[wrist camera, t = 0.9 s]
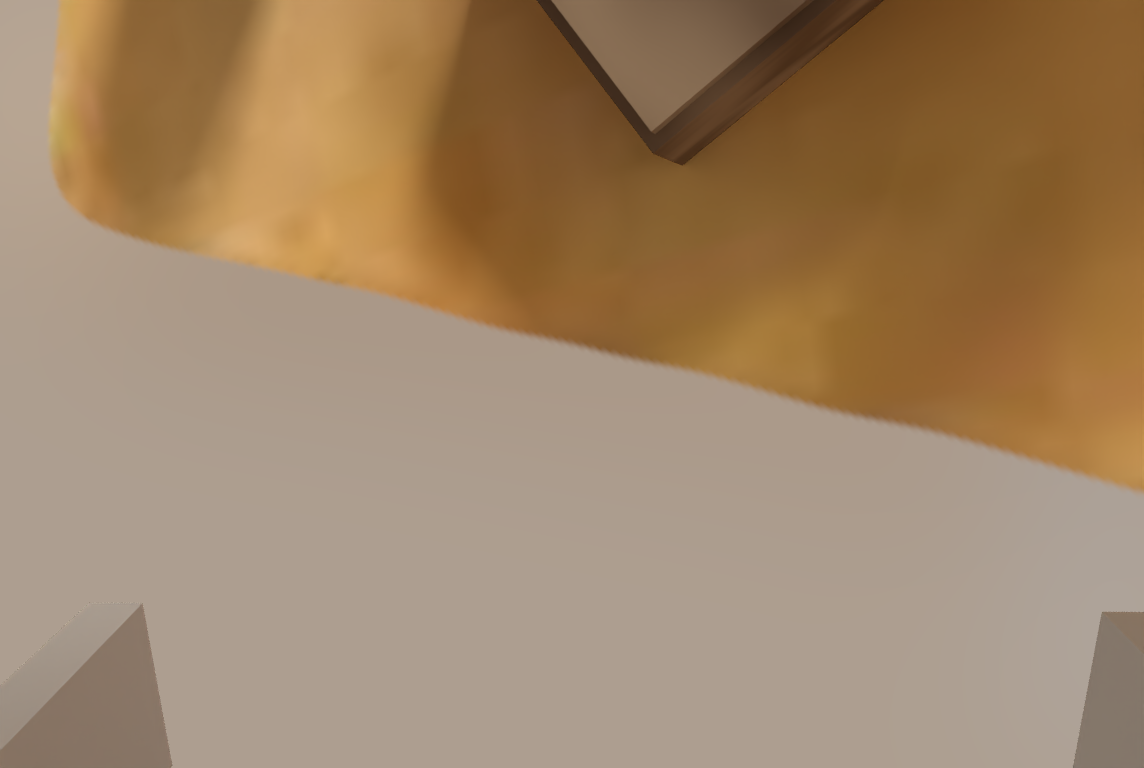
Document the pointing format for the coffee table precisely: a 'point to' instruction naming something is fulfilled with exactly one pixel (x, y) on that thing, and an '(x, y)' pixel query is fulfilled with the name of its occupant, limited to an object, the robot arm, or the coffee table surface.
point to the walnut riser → (697, 57)
